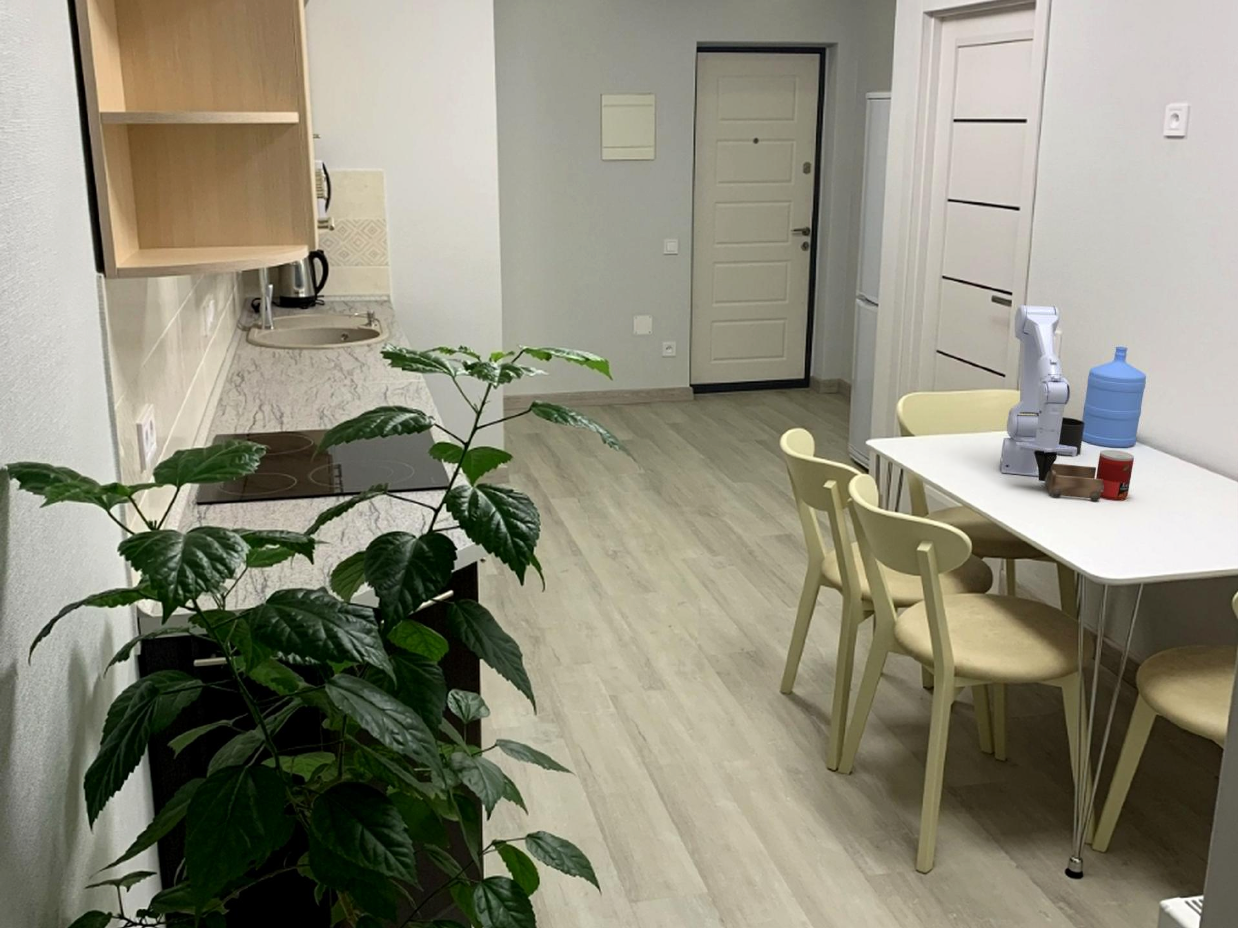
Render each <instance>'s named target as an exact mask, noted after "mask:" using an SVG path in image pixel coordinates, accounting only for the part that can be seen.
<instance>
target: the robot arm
mask: <svg viewBox="0 0 1238 928" xmlns="http://www.w3.org/2000/svg"><path fill="white" fill-rule="evenodd" d="M1059 321H1060V311H1059V309H1058V307H1057V306H1054V305H1053V306H1044V305H1041V306H1040V305H1024V304H1021V305H1019V306H1018V308H1017V309H1016V313H1015V316H1014V337H1015V338H1017V339H1018V340H1020V376H1019V378H1020V379H1019V381H1020V382H1019V385H1020V386H1019V402H1018V403H1017V404H1016V405H1014V406H1012V407H1011V408H1010V409H1009V411H1008V415H1007V416H1008V417H1007V421H1006V433H1007V436H1008V437H1004V438H1003V440H1002V444H1001V445H1002V446H1001V455H1000V459H999V468H1000V471H1001V473H1002V474H1008V475H1009V474H1010V475H1020V476H1031V477H1037V478H1038V481H1039V482H1045V478H1046V476H1047V473H1048V471H1049V469H1050V468H1051V466H1052V465H1053V463H1055V462H1056V461H1057V458H1058V455H1057V454H1064V455H1072V456H1071V457H1077V456H1076V454H1077V448H1076V447H1071V446H1065V445H1059V439H1060V432H1061V426H1062V419H1063V417H1064V411H1065V406H1066V405H1068V404H1069V401H1070V397H1071V386H1070V383H1069V381H1068V380H1067V378H1065V377H1064V372H1063V368H1062V361H1061V359H1060V358H1059V356H1057V355H1056V352H1055V351H1056V350H1055V338H1054V334H1055V332H1056V331H1057V327H1058V326H1059V323H1060V322H1059Z"/></svg>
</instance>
